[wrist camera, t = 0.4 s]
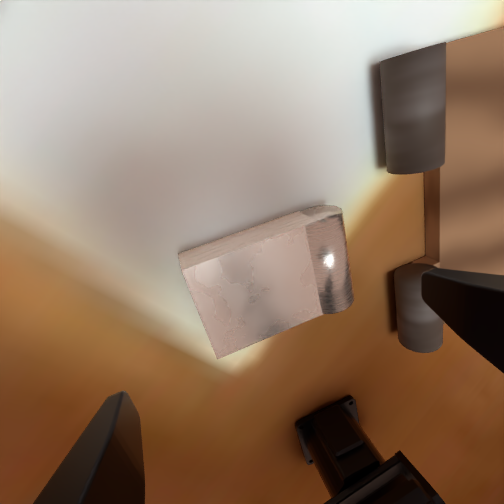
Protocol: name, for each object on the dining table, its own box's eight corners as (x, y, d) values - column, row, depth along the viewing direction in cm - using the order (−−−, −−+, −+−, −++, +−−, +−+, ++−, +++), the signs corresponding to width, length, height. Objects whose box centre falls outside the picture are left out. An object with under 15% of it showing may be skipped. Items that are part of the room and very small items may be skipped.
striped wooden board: (486, 289, 31) (524, 307, 28) (389, 334, 29) (418, 358, 26) (508, 26, 22) (570, 7, 19) (367, 65, 20) (408, 52, 17)
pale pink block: (337, 281, 26) (364, 302, 22) (210, 333, 24) (219, 365, 20) (324, 200, 23) (353, 211, 19) (177, 253, 21) (182, 274, 18)
